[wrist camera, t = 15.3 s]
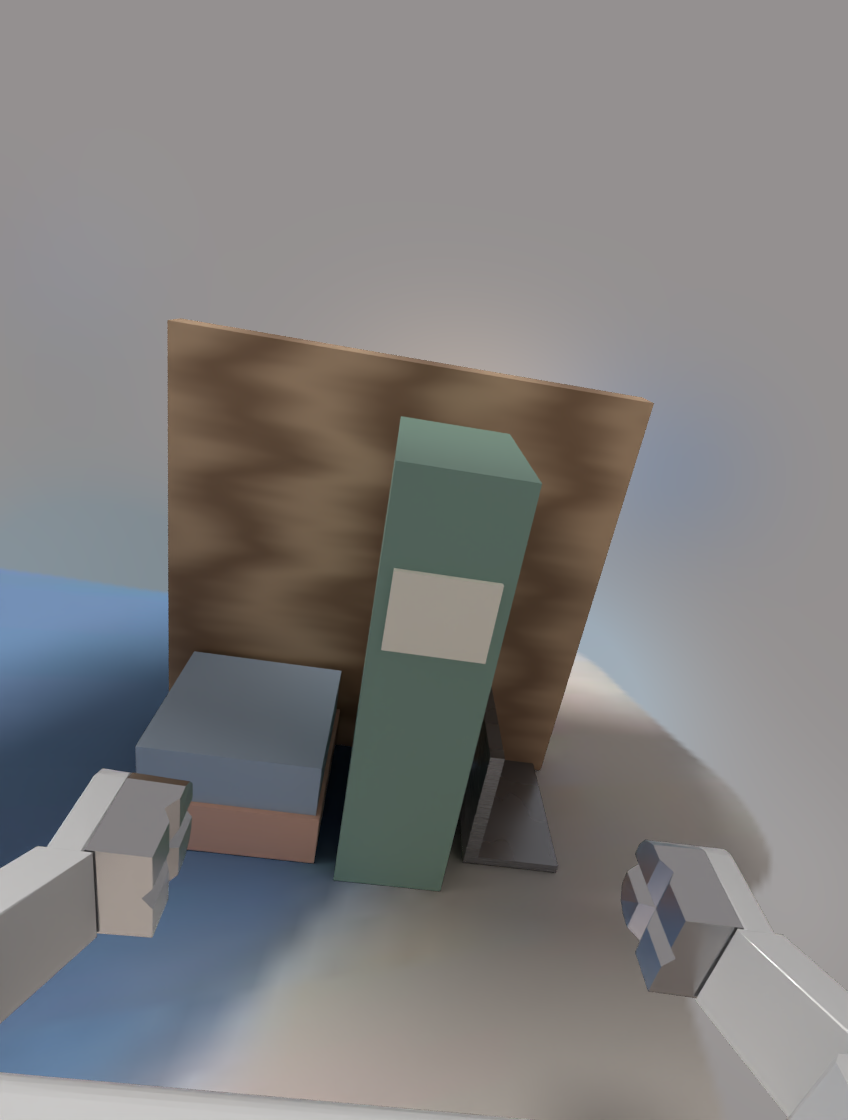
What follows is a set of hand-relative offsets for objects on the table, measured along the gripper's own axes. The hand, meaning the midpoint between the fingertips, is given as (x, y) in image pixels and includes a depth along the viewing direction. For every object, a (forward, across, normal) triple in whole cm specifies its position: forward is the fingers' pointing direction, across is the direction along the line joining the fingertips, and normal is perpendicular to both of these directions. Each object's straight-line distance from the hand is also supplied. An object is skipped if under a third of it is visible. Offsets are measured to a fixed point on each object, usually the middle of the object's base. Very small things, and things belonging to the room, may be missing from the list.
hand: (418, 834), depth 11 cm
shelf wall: (+19, +1, +14) cm, 23 cm away
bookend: (+15, -7, +14) cm, 21 cm away
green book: (+13, -1, +14) cm, 19 cm away
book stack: (+14, +6, +14) cm, 21 cm away
